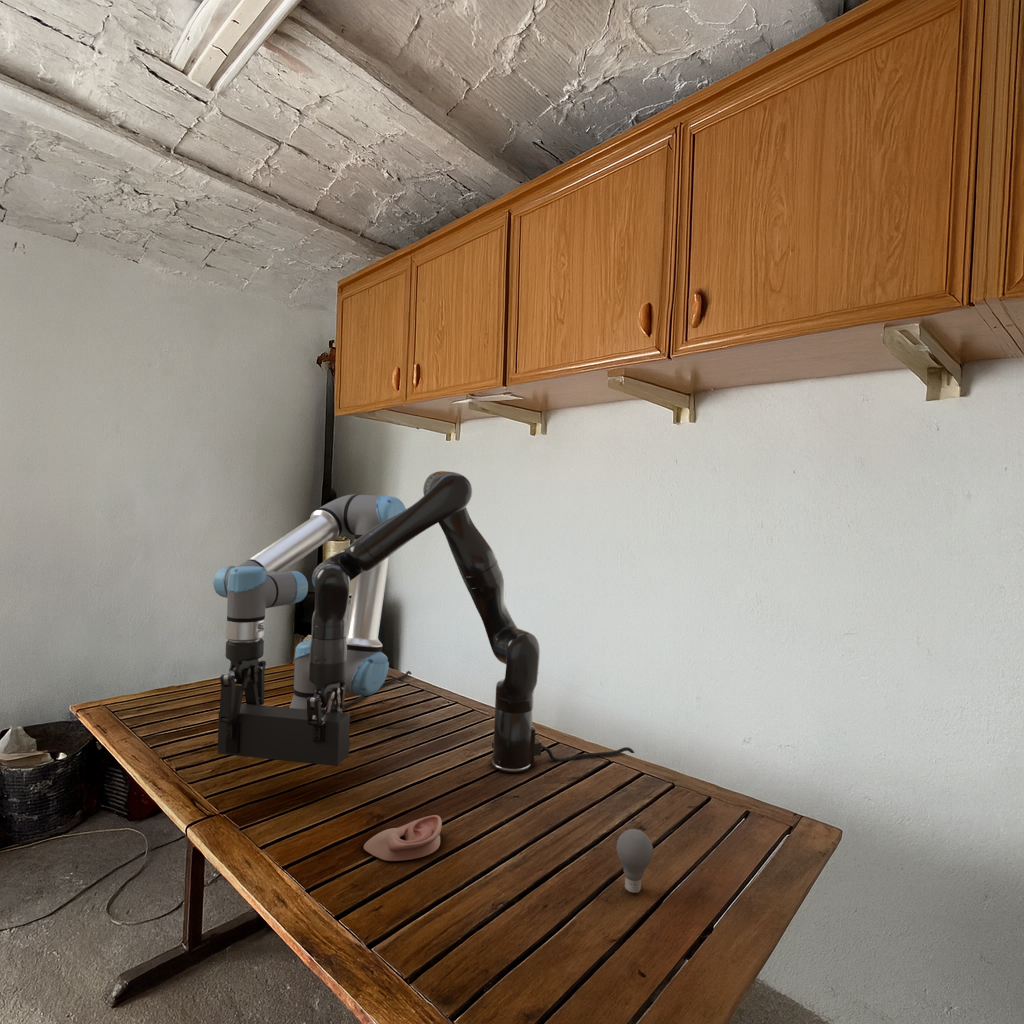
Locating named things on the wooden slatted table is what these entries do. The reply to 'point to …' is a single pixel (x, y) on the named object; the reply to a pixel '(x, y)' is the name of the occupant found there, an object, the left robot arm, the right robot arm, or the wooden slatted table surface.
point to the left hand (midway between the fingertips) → (241, 746)
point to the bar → (288, 735)
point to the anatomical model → (407, 840)
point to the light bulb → (634, 857)
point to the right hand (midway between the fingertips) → (325, 737)
